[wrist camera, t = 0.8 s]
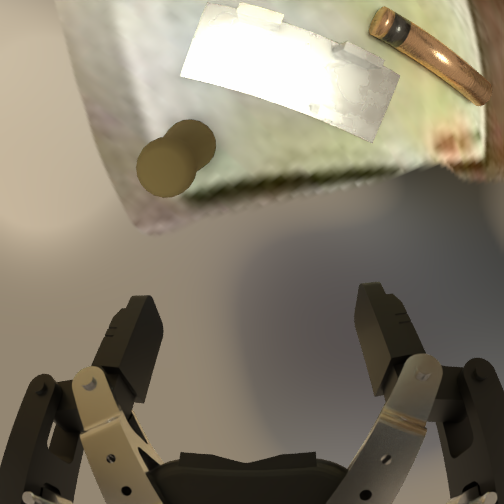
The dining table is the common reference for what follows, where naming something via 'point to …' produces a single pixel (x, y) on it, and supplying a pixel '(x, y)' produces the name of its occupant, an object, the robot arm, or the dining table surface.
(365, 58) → the grey rack
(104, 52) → the dining table surface
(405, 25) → the tube
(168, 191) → the cork
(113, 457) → the robot arm
